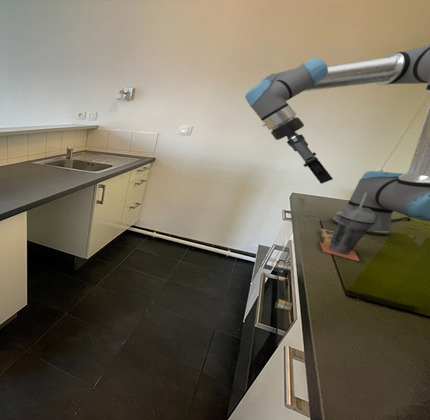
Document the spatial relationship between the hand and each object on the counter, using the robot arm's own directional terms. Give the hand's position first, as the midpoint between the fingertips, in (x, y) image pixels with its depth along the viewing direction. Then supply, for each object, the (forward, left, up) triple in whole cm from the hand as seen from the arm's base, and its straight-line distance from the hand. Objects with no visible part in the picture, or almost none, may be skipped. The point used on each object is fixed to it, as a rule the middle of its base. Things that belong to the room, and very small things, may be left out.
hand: (324, 177), depth 78 cm
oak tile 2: (-11, +6, -23) cm, 26 cm away
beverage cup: (-5, +9, -23) cm, 25 cm away
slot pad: (-5, +10, -23) cm, 25 cm away
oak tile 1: (-17, +3, -23) cm, 29 cm away
